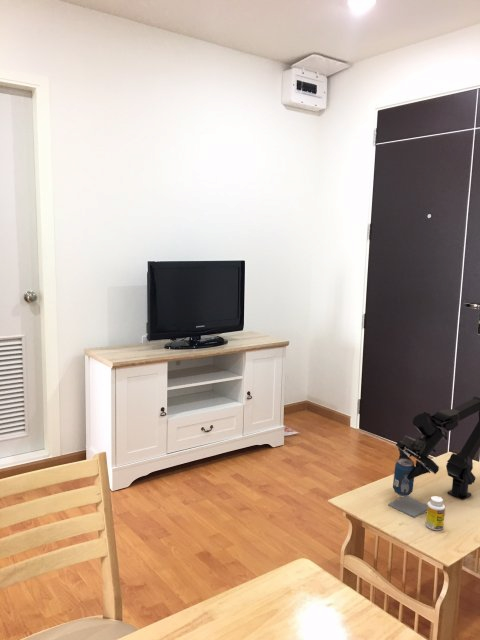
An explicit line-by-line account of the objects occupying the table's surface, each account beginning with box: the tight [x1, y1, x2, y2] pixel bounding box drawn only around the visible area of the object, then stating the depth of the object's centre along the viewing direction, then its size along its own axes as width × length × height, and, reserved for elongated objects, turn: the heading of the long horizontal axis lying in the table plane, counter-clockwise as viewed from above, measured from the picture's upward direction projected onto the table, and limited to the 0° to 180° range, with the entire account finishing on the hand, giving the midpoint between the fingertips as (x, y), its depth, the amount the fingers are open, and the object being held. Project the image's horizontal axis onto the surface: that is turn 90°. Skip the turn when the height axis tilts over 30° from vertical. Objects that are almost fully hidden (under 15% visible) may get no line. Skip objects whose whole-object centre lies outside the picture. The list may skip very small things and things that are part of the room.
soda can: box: [392, 458, 415, 497], centre depth 192 cm, size 7×7×12 cm
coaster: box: [387, 495, 428, 519], centre depth 194 cm, size 11×11×1 cm
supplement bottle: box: [425, 495, 446, 531], centre depth 180 cm, size 6×6×10 cm
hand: (401, 474), depth 192 cm, fingers closed on soda can, 7 cm apart
